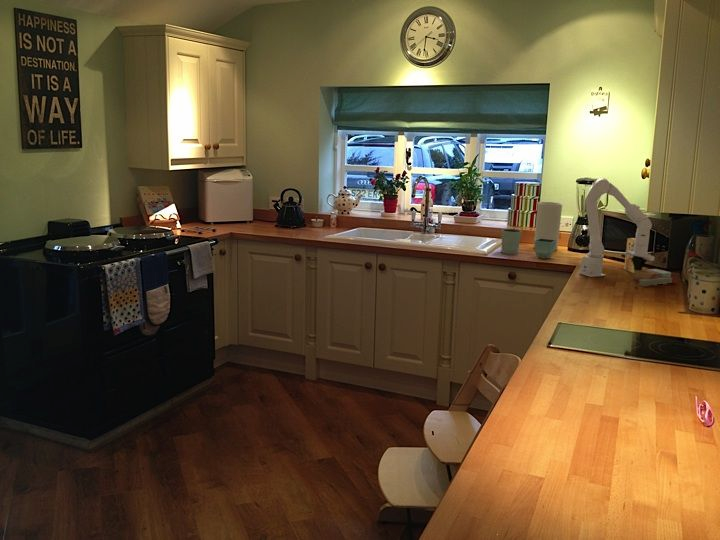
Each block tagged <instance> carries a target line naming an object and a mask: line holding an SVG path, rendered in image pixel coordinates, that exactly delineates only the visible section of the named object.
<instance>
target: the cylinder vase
mask: <svg viewBox="0 0 720 540" xmlns="http://www.w3.org/2000/svg"><path fill="white" fill-rule="evenodd" d="M536 211H537V213H536V219H535V220H536V221H535V232H534V240H533V248H534V249H535V240H537V239H539V238H541V239H550V240H556V245H555V249H554V252H555V251H557V250H558V245H559V237H560V229H561V220H562V219H561V218H562V211H563V203H560V202H553V201H538V203H537V210H536Z"/></svg>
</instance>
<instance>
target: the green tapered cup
mask: <svg viewBox="0 0 720 540" xmlns="http://www.w3.org/2000/svg"><path fill="white" fill-rule="evenodd" d="M521 238H522V230H521V229H518V228H517V229H516V228H502V229H501V253H502V254H505V253H506V254H505V255H518V254H517V253H519V249H520V241H521Z"/></svg>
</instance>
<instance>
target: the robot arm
mask: <svg viewBox="0 0 720 540" xmlns="http://www.w3.org/2000/svg"><path fill="white" fill-rule="evenodd" d="M605 194H606V195H609V196H612V197H614V198H615V199H616V201H617V202H618V203H619V204H620V205H621V206H622V207H623V208H624V214H625V215H626V216H627V217H628V218H629V219H630V220H631V221H632V222H633V223H634V224H635V225H636V227H637V228H636V232H635V244H634V251H630V250H625V256H626V255H631V256H634V257H633V258H631V260H632V262H633V265H634V270H643V268H644V266H645V264H646V263H647V262H648V261H650V262H654V261H655V256H653V255H651V254H648V249H649V244H650V243H649V242H650V232H651V231H650V230H651V229H652V228H653V224H652V221H651V220H650V218H649V217H648V215H647V213H644V212H643V211H642V210H641V209H640V208H641V207H640V206H639V205H638V204H635V203H631V202H630V201H629V200H628V199H627V198H626V197H625V195H624V194H623V193H622V192H621V191H620V190H619V189H618V187H616V185H614V184H613V183H612V182H610V181H608V179H607V178H605V177H600V178H597V179H596V180H594V182H592V184H591V186H590V188H589V190H588V192H587V193H586V196H585V202H586V203H585V204H586V210H587V211H586V213H587V222H588V230H589V243H588V249H589V252H587V255H586V256H584V257H582V258H581V261H580V268H579V271H578V274H580V275H584V276H587V277H589V278H593V277H595V278H596V277H605V276H606V275H607V274H606V273H605V274H604V273H602V271H603V266H604V265H603V264H604V253H605V247H604V245H603V242H602V238H601V231H600V220H599V219H600V218H599V213H598V212H599V211H598V203H597V201H598V200H599V199H600V198H601V197H602V196H603V195H605Z"/></svg>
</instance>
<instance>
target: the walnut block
mask: <svg viewBox="0 0 720 540" xmlns="http://www.w3.org/2000/svg"><path fill="white" fill-rule="evenodd" d="M648 270H649V269H642V270H635V272H634V273H633V279H632V280H633V281H636V282H638V281H639V280H642V279H652V278H658V274H659V273H655V272H651V271H648Z"/></svg>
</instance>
